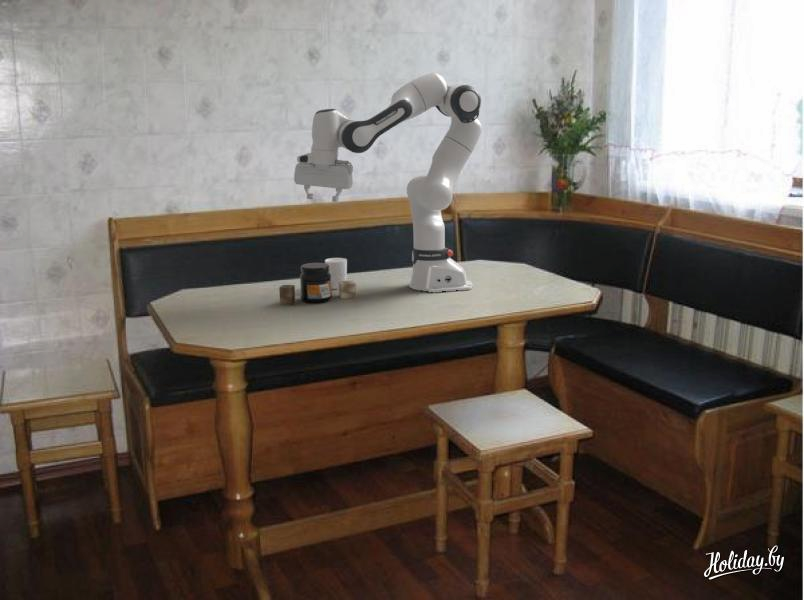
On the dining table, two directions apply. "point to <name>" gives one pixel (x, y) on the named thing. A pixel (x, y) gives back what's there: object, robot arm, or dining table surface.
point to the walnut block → (287, 294)
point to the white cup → (337, 271)
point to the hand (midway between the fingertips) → (322, 200)
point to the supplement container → (315, 283)
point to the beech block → (347, 289)
